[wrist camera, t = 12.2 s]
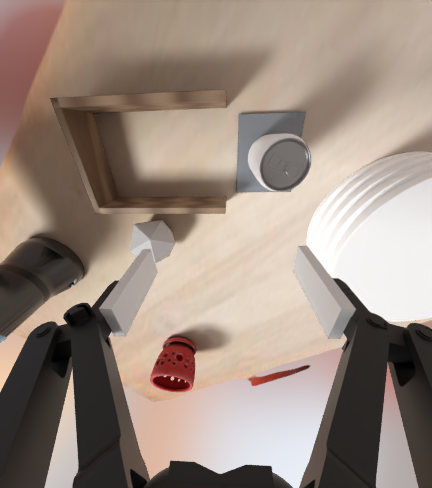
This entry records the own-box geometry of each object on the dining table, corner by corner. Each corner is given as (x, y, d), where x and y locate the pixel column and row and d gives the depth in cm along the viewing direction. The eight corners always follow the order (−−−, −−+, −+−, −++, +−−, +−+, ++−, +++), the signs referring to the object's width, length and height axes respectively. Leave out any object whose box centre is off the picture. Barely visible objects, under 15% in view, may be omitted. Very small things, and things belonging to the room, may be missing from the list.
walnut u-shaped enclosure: (115, 202, 37) (95, 213, 32) (84, 105, 29) (50, 98, 23) (226, 201, 35) (225, 213, 30) (226, 99, 27) (225, 89, 22)
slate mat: (236, 191, 34) (236, 192, 34) (239, 114, 28) (239, 114, 28) (289, 191, 34) (290, 191, 33) (304, 112, 27) (305, 111, 27)
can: (272, 182, 32) (291, 203, 22) (240, 166, 31) (245, 180, 21) (294, 145, 29) (328, 150, 19) (259, 126, 28) (277, 120, 18)
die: (164, 205, 37) (116, 220, 31) (190, 237, 36) (145, 260, 30) (158, 228, 44) (116, 244, 37) (179, 256, 42) (140, 278, 36)
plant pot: (154, 339, 62) (140, 378, 52) (185, 330, 59) (176, 371, 48) (176, 357, 68) (166, 396, 58) (205, 350, 64) (201, 391, 54)
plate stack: (513, 154, 28) (662, 162, 19) (410, 283, 43) (463, 327, 33) (333, 148, 30) (384, 154, 20) (292, 276, 44) (310, 315, 34)
